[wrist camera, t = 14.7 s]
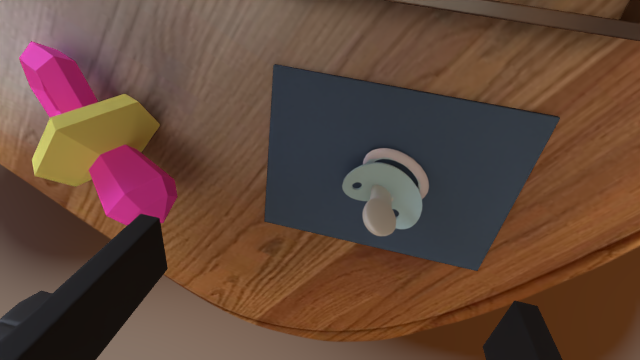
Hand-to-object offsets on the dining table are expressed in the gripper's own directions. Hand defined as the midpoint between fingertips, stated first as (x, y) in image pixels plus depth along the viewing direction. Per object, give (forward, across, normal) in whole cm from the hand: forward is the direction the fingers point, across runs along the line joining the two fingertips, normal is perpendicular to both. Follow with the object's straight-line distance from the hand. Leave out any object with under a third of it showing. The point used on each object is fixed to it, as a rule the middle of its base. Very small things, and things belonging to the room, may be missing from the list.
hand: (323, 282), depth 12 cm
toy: (+18, -22, -5) cm, 29 cm away
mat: (+18, +3, -5) cm, 19 cm away
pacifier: (+17, +4, -5) cm, 18 cm away
